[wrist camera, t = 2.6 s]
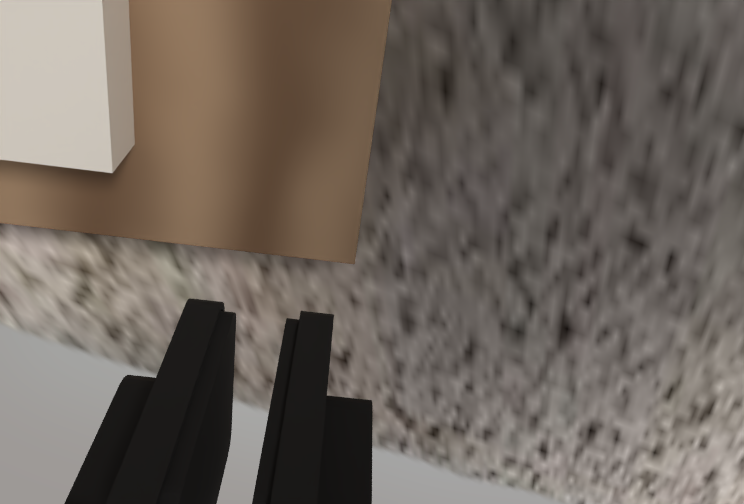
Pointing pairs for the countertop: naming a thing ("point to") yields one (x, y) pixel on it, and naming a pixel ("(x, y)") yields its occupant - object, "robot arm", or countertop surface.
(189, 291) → the countertop surface
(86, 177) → the board
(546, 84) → the countertop surface
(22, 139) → the tile
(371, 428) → the robot arm
